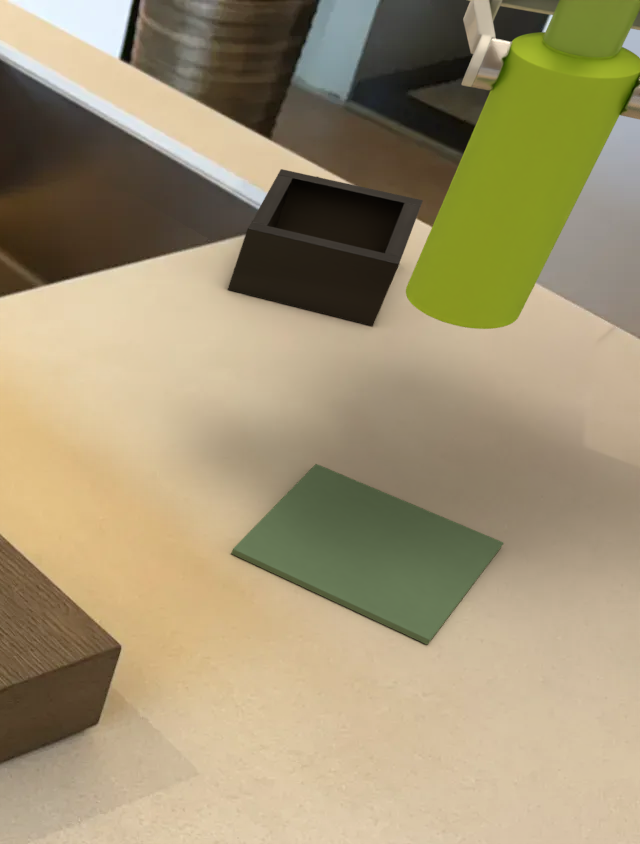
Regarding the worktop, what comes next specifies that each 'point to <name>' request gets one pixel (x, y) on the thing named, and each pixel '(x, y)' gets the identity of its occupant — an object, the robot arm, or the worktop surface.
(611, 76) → the soap dispenser
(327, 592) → the mat
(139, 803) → the worktop surface
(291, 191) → the box
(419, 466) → the worktop surface
